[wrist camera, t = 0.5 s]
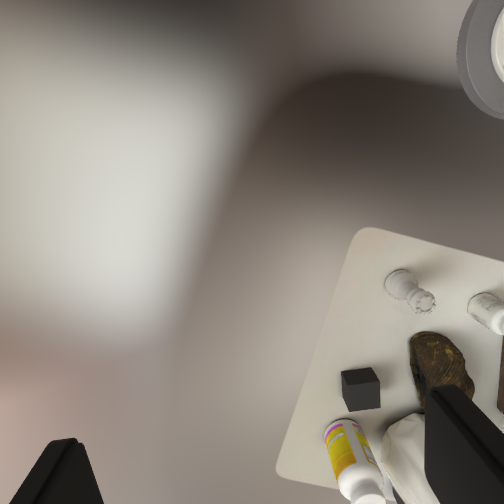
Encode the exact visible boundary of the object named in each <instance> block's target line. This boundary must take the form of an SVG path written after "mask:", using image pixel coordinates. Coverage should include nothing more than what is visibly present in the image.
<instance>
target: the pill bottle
mask: <svg viewBox="0 0 504 504" xmlns="http://www.w3.org/2000/svg"><path fill="white" fill-rule="evenodd" d="M468 312H469V314H470V315H471V316H472V317H473V318H474V319H476V320H477V321H479V322H480V323H481V324H483V325H484V326H486V327H487V328H488V329H490V330H491V331H493V332H494V333H496V334H499V335H504V302H503V301H501V300H499V299H498V298H496V297H494V296H492V295H490V294H487V293H483V294H479V295H476V296H475V297H473V298H472V299H471V301H470V303H469V305H468Z"/></svg>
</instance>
